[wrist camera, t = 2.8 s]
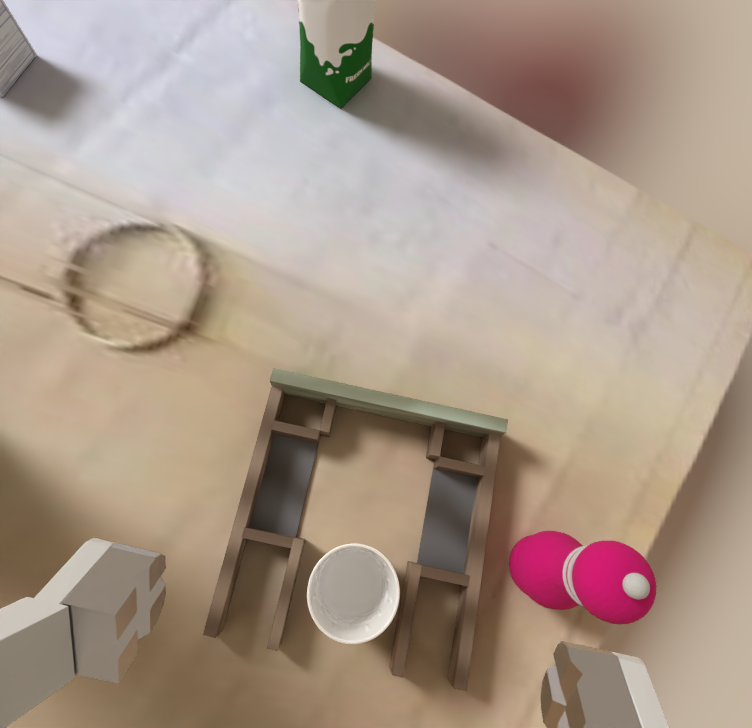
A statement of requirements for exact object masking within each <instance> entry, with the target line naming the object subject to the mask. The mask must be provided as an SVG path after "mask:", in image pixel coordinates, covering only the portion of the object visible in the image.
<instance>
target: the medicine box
mask: <svg viewBox="0 0 752 728" xmlns="http://www.w3.org/2000/svg"><path fill="white" fill-rule="evenodd" d="M36 56H37V54H36V52H35V51H34V49H33V48H32V46H31V44H30V43H29V41H28V40H27V38H26V37H25V35H24V33H23V32H22V30H21V28H20V27H19V25H18V24H17V22H16V20H15V19H14V17H13V16H12V14H11V12H10V11H9V9H8V8H7V6H6V4H5V3H4V1H3V0H0V96H1V97H3V96H4V95H5V94H6V93H7V91H8V90H9V89H10V87H11V86H12V85H13V84H14V83H15V81H16V80H17V79H18V78H19V76H20V75H21V74H22V73H23V71H24V70H25V69H26V68H27V66H28V65H29V64H30V63H31V61H32V60H33V59H34V58H35V57H36Z"/></svg>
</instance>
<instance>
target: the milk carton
mask: <svg viewBox="0 0 752 728" xmlns="http://www.w3.org/2000/svg"><path fill="white" fill-rule="evenodd" d="M298 12H299V27H300V42H301V53H300V82H302V83H303V84H305V85H306V86H308V87H309V88H311V89H312V90H314V91H315V92H317V93H318V94H320V95H321V96H323V97H324V98H326V99H327V100H328V101H330V102H331V103H333V104H334V105H336V106H337V107H339V108H340V109H341V108H342V107H343V106H344V105H345V104H346V103H347V102H348V101H349V100H350V99H351V98H352V97H353V96H354V95H355V94H356V93H357V92H358V91H359V90H360V89H361V88H362V87H363V86H364V85H365V84H366V83H367V82H368V81H369V80H370V79H371V54H372V39H373V26H374V13H375V0H298Z"/></svg>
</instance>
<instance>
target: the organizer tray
mask: <svg viewBox="0 0 752 728" xmlns="http://www.w3.org/2000/svg"><path fill="white" fill-rule="evenodd" d="M270 383H271V385H272V387H271V391H270V394H269V398H268V401H267V405H266V409H265V412H264V416H263V420H262V423H261V427H260V430H259V434H258V438H257V441H256V445H255V449H254V452H253V456H252V459H251V463H250V467H249V470H248V474H247V478H246V481H245V485H244V488H243V492H242V496H241V499H240V503H239V507H238V510H237V514H236V517H235V521H234V525H233V528H232V532H231V536H230V539H229V543H228V546H227V550H226V554H225V557H224V561H223V565H222V568H221V572H220V575H219V579H218V583H217V586H216V590H215V593H214V597H213V601H212V604H211V608H210V612H209V615H208V619H207V622H206V626H205V630H204V633H203V635H206V636H210V637H215V638H216V637H217V636H218V635H219V634H220V633H221V632H222V630H223V627H224V623H225V619H226V615H227V612H228V608H229V604H230V600H231V597H232V593H233V589H234V585H235V582H236V578H237V574H238V570H239V567H240V563H241V559H242V555H243V552H244V548H245V544H246V540H247V539H250V540H254V541H259V542H263V543H268V544H273V545H277V546H282V547H287V548H291V551H290V556H289V560H288V564H287V568H286V572H285V576H284V581H283V585H282V589H281V593H280V597H279V601H278V605H277V610H276V614H275V618H274V622H273V626H272V630H271V635H270V639H269V643H268V647H267V649H272V650H276V651H278V649H279V647H280V644H281V641H282V636H283V632H284V628H285V623H286V619H287V615H288V611H289V606H290V602H291V598H292V594H293V589H294V585H295V581H296V576H297V572H298V568H299V564H300V559H301V555H302V551H303V547H304V542H305V539H302V538H297V537H296V535H297V530H298V526H299V522H300V518H301V514H302V509H303V505H304V501H305V497H306V493H307V489H308V484H309V480H310V476H311V472H312V468H313V464H314V459H315V455H316V451H317V447H318V443H319V438H320V435H323V436H328V437H329V435H330V431H331V427H332V423H333V418H334V414H335V410H336V406H340V407H344V408H349V409H353V410H358V411H363V412H367V413H372V414H376V415H381V416H385V417H390V418H395V419H399V420H404V421H408V422H413V423H418V424H422V425H427V426H431V432H430V437H429V443H428V449H427V455H426V458H429V459H433V460H435V461H434V467H433V473H432V479H431V485H430V491H429V496H428V502H427V508H426V514H425V520H424V526H423V532H422V538H421V544H420V550H419V555H418V561H417V563H413V562H409V561H408V563H407V569H406V575H405V581H404V586H403V592H402V598H401V603H400V609H399V615H398V621H397V626H396V632H395V638H394V644H393V649H392V655H391V661H390V666H389V667H390V670H391V672H392V675H394V676H399V677H403V675H404V669H405V663H406V657H407V651H408V645H409V639H410V633H411V627H412V621H413V615H414V609H415V603H416V597H417V591H418V585H419V579H420V576H422V577H426V578H431V579H436V580H440V581H445V582H450V583H454V584H459V585H461V589H460V595H459V602H458V609H457V616H456V623H455V630H454V637H453V644H452V651H451V658H450V665H449V672H448V681H449V682H450V683H451V685H452V686H453V687H454V688H455V689H460V690H465V691H467V684H468V676H469V669H470V661H471V654H472V646H473V638H474V631H475V623H476V616H477V608H478V601H479V593H480V586H481V578H482V571H483V563H484V556H485V548H486V541H487V533H488V526H489V518H490V511H491V503H492V496H493V488H494V481H495V473H496V466H497V458H498V451H499V443H500V436H501V435H503V434H504V433H506V431H507V423H508V419H503V418H499V417H494V416H489V415H485V414H480V413H476V412H471V411H467V410H462V409H457V408H453V407H448V406H444V405H439V404H435V403H430V402H425V401H421V400H416V399H412V398H407V397H403V396H398V395H394V394H389V393H384V392H380V391H375V390H371V389H366V388H362V387H357V386H352V385H348V384H343V383H339V382H334V381H330V380H325V379H320V378H316V377H311V376H307V375H302V374H298V373H293V372H288V371H284V370H279V369H275V368H273V371H272V374H271V378H270ZM285 395H289V396H294V397H298V398H303V399H308V400H312V401H317V402H321V403H326V406H325V410H324V414H323V418H322V422H321V427H320V430H316V429H311V428H307V427H302V426H298V425H293V424H288V423H284V422H279V421H278V420H279V416H280V413H281V409H282V405H283V401H284V398H285ZM444 429H445V430H450V431H454V432H459V433H463V434H468V435H472V436H477V437H482V442H481V449H480V456H479V463H478V465H477V464H472V463H468V462H463V461H458V460H454V459H449V458H445V457H440V453H441V447H442V441H443V435H444Z"/></svg>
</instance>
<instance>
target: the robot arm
mask: <svg viewBox="0 0 752 728" xmlns="http://www.w3.org/2000/svg"><path fill="white" fill-rule="evenodd" d="M165 569H166V562H165V556H164V555H162V554H160V553H156V552H152V551H148V550H144V549H140V548H136V547H132V546H127V545H123V544H119V543H114V542H110V541H106V540H102V539H97V538H92V539H90V540H88V541H86V542H85V543H84V544H83V545H82V546H81V547H80V548H79V550H78V551H77V552H76V553H75V554H74V555H73V556H72V557H71V558H70V559H69V560H68V562H67V563H66V564H65V565H64V566H63V567H62V568H61V569H60V570H59V571H58V572H57V573H56V575H55V576H54V577H53V578H52V579H51V580H50V581H49V582H48V583H47V584H46V585H45V587H44V588H43V589H42V590H41V591H40V592H39V593H38V594H37V595H36V596H35V597H34V598H31V597H25V598H23V599H20V600H18V601H16V602H14V603H12V604H10V605H8V606H5V607H3V608H1V609H0V728H6V727H7V726H9V725H10V724H11V723H13V722H14V721H16V720H17V719H18V718H20V717H21V716H23V715H24V714H25V713H27V712H28V711H30V710H31V709H32V708H34V707H35V706H37V705H38V704H39V703H41V702H42V701H44V700H45V699H46V698H48V697H49V696H51V695H52V694H53V693H55V692H56V691H58V690H59V689H60V688H62V687H63V686H65V685H66V684H67V683H69V682H70V681H72V680H73V679H74V678H75V675H78V676H83V677H88V678H93V679H98V680H103V681H108V682H113V683H118V684H119V683H120V681H121V679H122V678H123V676H124V674H125V673H126V671H127V670H128V668H129V666H130V665H131V663H132V661H133V660H134V658H135V657H136V655H137V653H138V640H139V639H140V638H142V637H144V636H145V635H147V634H149V633H150V632H151V630H152V629H153V627H154V625H155V623H156V622H157V620H158V617H159V615H160V612H161V610H162V607H163V604H164V599H165V594H166V584H165V583H164V581H163V580H162V579H161V577H160V576H161V575H162V573H163V572H164V570H165ZM554 659H555V663H556V665H554V666H552V667H550V668H549V669H547V671H546V673H545V676H544V679H543V681H542V689H541V711H542V717H543V722H544V724H545V725H546V727H547V728H669V725H668V723H667V720H666V717H665V715H664V712H663V710H662V708H661V705H660V702H659V700H658V697H657V695H656V692H655V690H654V687H653V685H652V682H651V680H650V677H649V675H648V672H647V670H646V667H645V665H644V663H643V661H642V660H641V659H640V658H638V657H633V656H629V655H624V654H620V653H615V652H610V651H606V650H602V649H597V648H592V647H587V646H582V645H577V644H573V643H568V642H563V641H562V642H560V643H559V644H558V645H557V647H556V649H555V652H554Z"/></svg>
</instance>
